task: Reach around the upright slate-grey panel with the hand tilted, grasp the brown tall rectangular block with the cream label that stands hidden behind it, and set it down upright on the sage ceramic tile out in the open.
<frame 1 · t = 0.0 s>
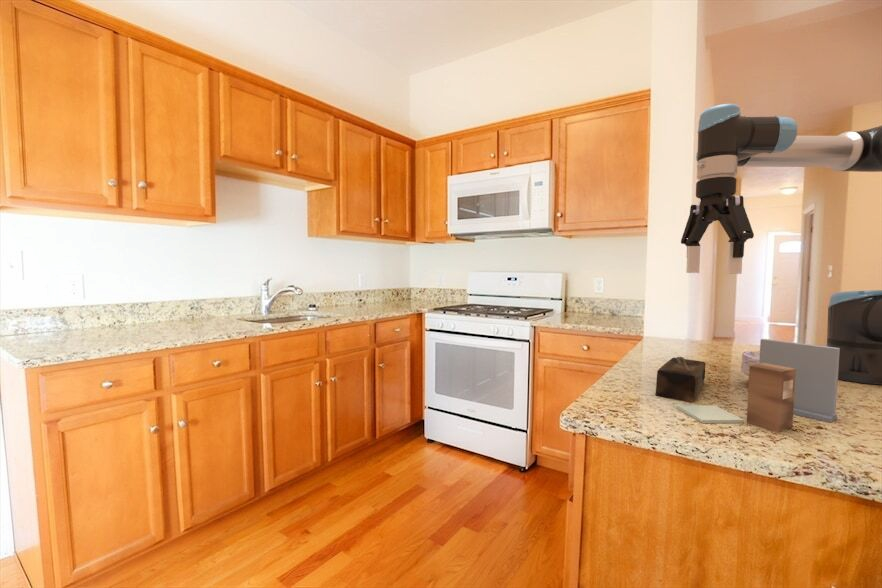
hand: (711, 273, 92), 28 cm above the countertop, tool pointing down, fingers open, 13 cm apart
paper bowls: (779, 389, 97), on the countertop
sage tile: (708, 415, 80), on the countertop
slate panel: (793, 411, 82), on the countertop
beverage carton: (681, 391, 97), on the countertop
brown tall rectangular block: (769, 425, 75), on the countertop
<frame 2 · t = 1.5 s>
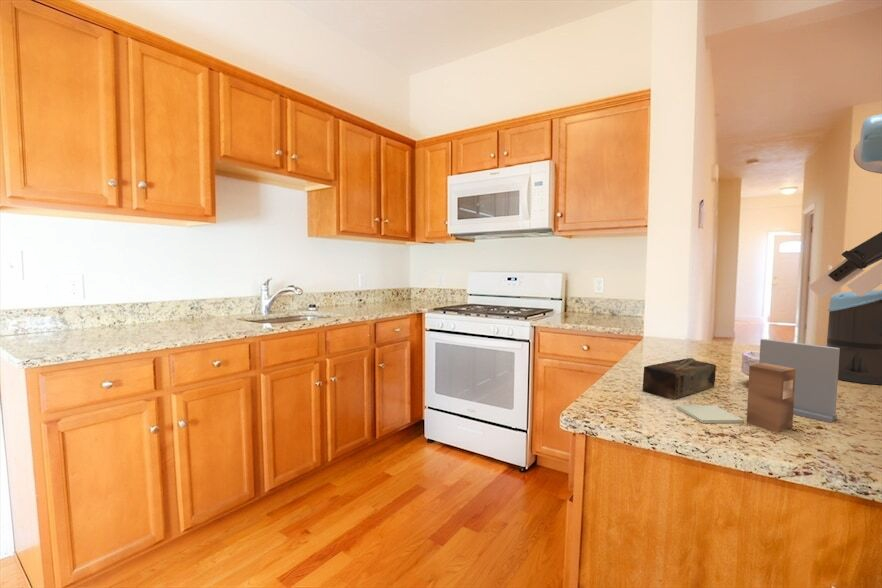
hand: (835, 291, 69), 25 cm above the countertop, tool tilted 45°, fingers open, 13 cm apart
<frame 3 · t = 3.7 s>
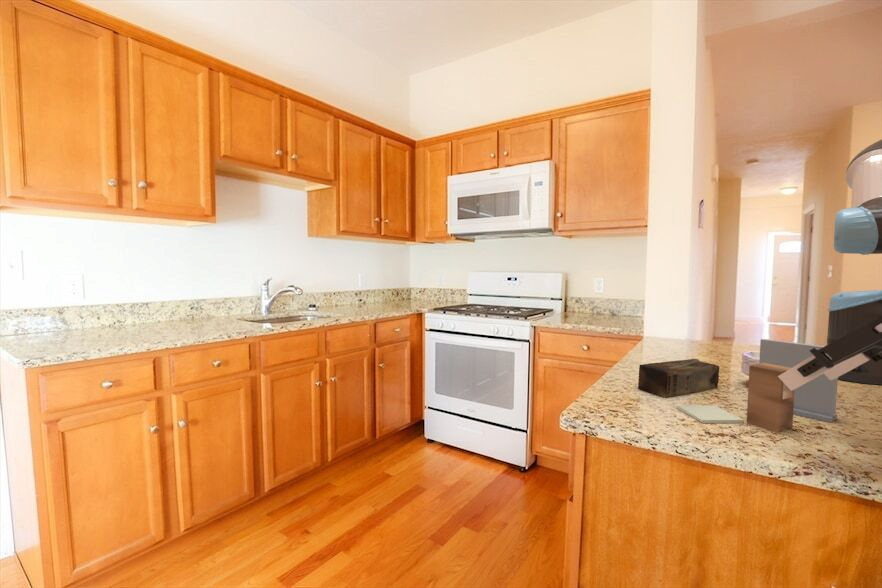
hand: (805, 378, 69), 10 cm above the countertop, tool tilted 45°, fingers open, 13 cm apart
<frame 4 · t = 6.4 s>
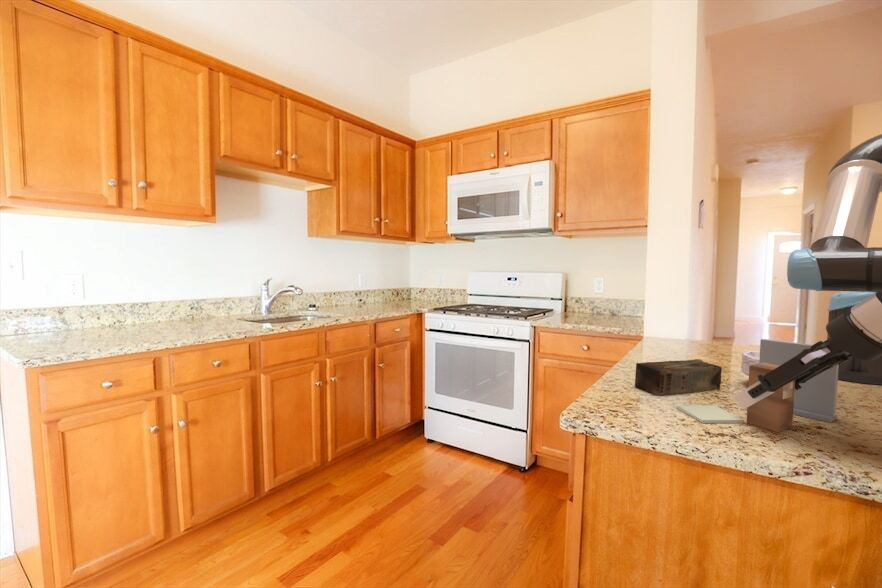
hand: (747, 400, 78), 4 cm above the countertop, tool tilted 45°, fingers closed on brown tall rectangular block, 5 cm apart
brown tall rectangular block: (769, 424, 75), on the countertop, touching gripper
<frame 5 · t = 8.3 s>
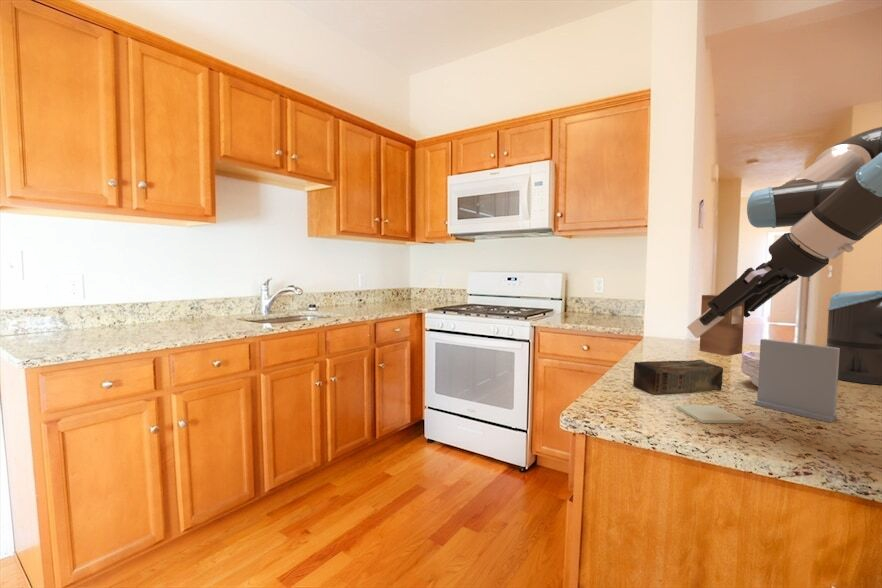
hand: (701, 331, 81), 17 cm above the countertop, tool tilted 45°, fingers closed on brown tall rectangular block, 5 cm apart
brown tall rectangular block: (720, 352, 78), point 13 cm above the countertop, touching gripper
when the fingers open (6 cm above the countertop, at t = 10.7 s): brown tall rectangular block drops 1 cm, resting on sage tile.
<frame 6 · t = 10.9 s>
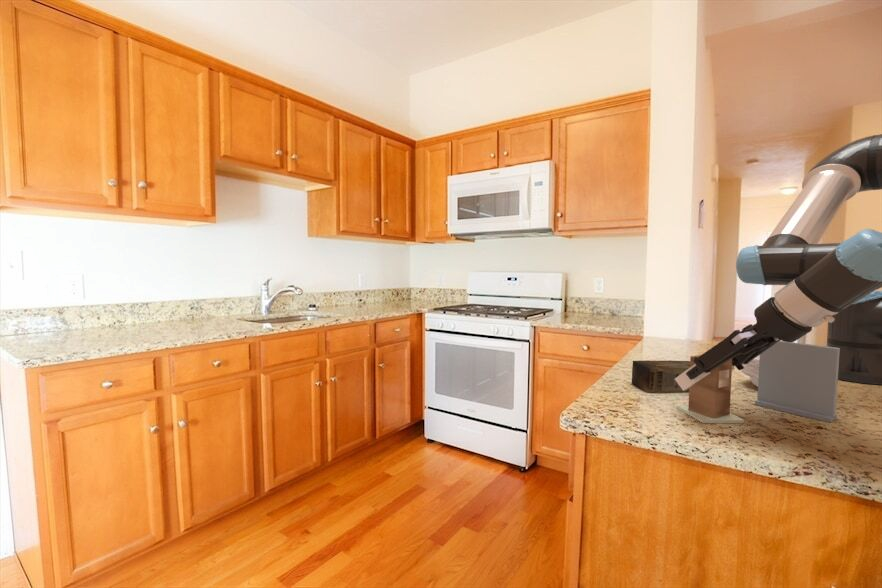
hand: (692, 381, 83), 6 cm above the countertop, tool tilted 45°, fingers open, 7 cm apart
brown tall rectangular block: (708, 412, 80), point 1 cm above the countertop, touching sage tile
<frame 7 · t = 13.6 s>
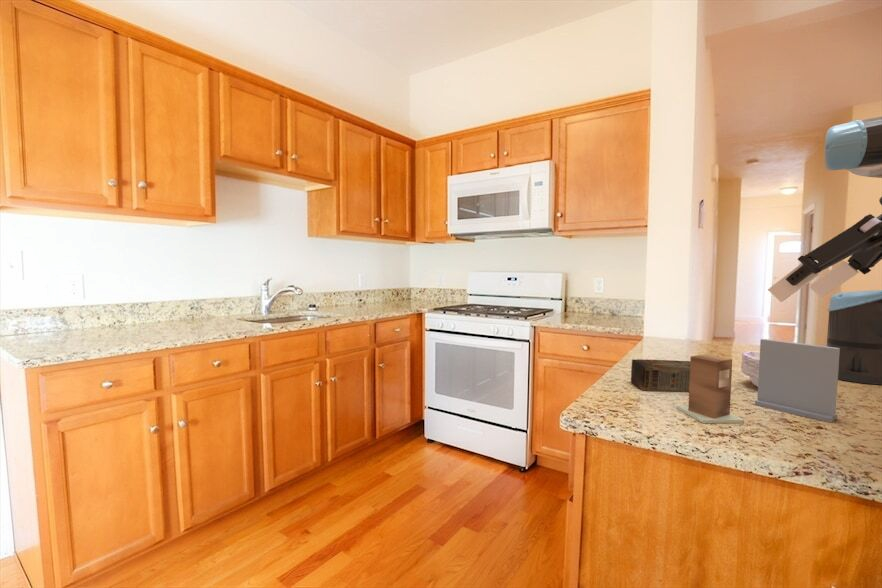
hand: (795, 293, 71), 25 cm above the countertop, tool tilted 45°, fingers open, 13 cm apart
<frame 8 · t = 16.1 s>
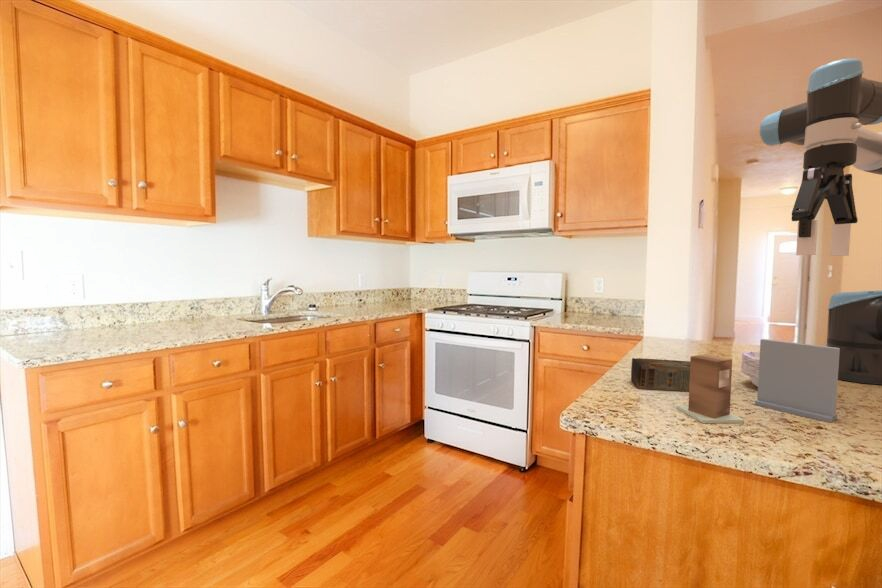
hand: (823, 255, 80), 32 cm above the countertop, tool pointing down, fingers open, 13 cm apart
at the end: brown tall rectangular block inside the target area on the sage tile (0.0 cm from its centre), point 0.6 cm above the sage tile's base; brown tall rectangular block tilted 0°; the gripper is holding nothing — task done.
